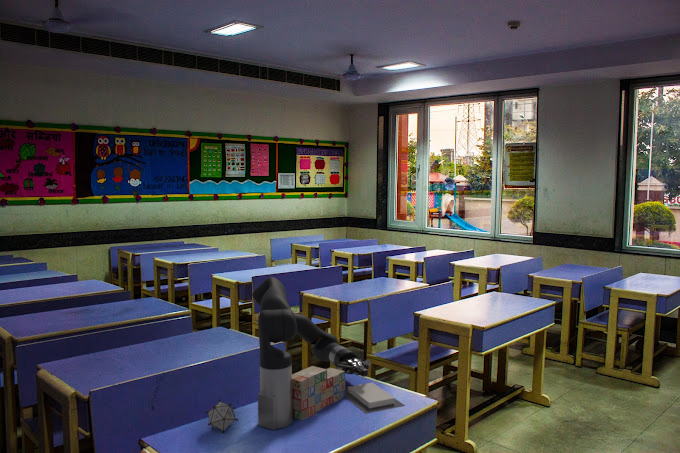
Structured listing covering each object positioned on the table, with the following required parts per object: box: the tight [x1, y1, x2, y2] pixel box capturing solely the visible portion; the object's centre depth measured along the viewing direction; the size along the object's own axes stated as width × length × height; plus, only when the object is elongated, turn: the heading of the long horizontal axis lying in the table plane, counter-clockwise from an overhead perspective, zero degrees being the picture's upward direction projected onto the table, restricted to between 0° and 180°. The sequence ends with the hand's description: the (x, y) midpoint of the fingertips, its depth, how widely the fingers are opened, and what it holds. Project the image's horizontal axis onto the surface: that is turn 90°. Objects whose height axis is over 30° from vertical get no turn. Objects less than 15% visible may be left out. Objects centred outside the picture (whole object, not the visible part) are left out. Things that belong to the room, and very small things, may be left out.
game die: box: [205, 398, 239, 435], centre depth 154 cm, size 9×8×10 cm
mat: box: [345, 387, 406, 415], centre depth 176 cm, size 21×14×1 cm, turn 25°
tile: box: [347, 382, 396, 408], centre depth 176 cm, size 2×9×15 cm
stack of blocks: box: [292, 365, 346, 421], centre depth 170 cm, size 21×6×12 cm, turn 142°
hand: (365, 373), depth 179 cm, fingers closed
